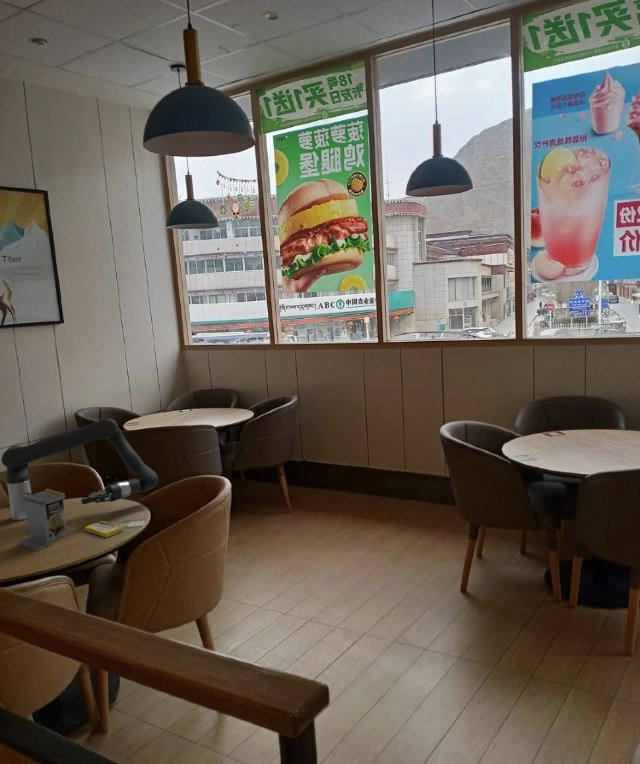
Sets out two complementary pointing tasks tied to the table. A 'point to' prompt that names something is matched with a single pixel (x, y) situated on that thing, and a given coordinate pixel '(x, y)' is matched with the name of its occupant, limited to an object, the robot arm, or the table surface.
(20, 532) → the table surface
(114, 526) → the candy box
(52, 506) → the coffee box
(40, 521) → the grey metal stand
